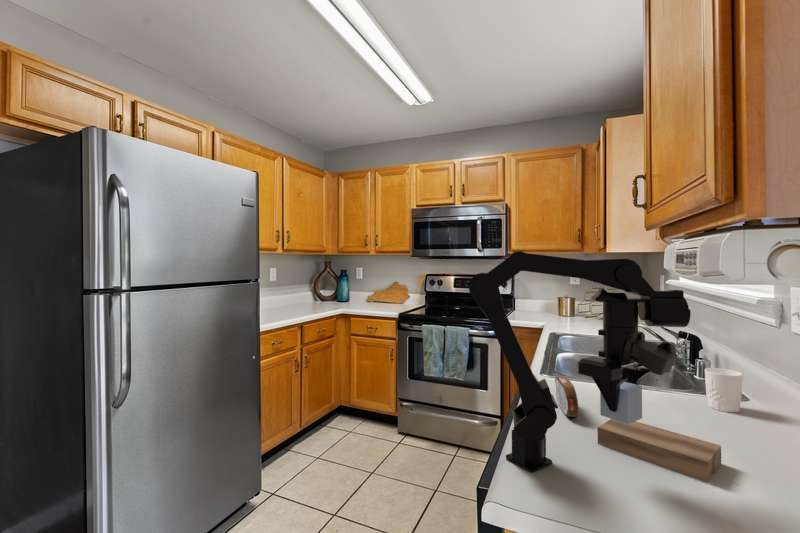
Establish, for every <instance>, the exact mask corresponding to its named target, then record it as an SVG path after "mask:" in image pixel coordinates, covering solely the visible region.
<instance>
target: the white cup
mask: <svg viewBox="0 0 800 533" xmlns="http://www.w3.org/2000/svg"><path fill="white" fill-rule="evenodd" d="M743 376H744V373H741V371H740V372H739V371H737V370H733V369H727V368H720V367H706V368H704V380H705V381H704V383H705V393H706V394H705V395H706V400H707V401H706V402H707V406H708V407H709V408H711V409H714V410H715V411H716V410H717V411H719V412H720V411H721V412H725V413H731V414H732V413H740V412H741V404H742V403H741V402H742V394H743V378H744V377H743Z"/></svg>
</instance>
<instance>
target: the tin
mask: <svg viewBox="0 0 800 533" xmlns="http://www.w3.org/2000/svg"><path fill="white" fill-rule="evenodd" d="M554 382H555V395H556V400H557V401H556V402H557V405H558V407H559V408H560V409H561V411H562V413H563V414H564V416H565V417H567V418H578V416H579V402H578V395H577V391H576V388H575V386H574V384H573V383H572V382H571V380H570V379H569V378H568V377H567V376H566V375H564V376H563V375H561V376H560V375H559V376H558V375H557V376H555V378H554Z"/></svg>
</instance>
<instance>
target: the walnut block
mask: <svg viewBox="0 0 800 533" xmlns="http://www.w3.org/2000/svg"><path fill="white" fill-rule="evenodd" d="M597 444H598V445H600V446H603V447H607V448H609V449H612V450H615V451H618V452H621V453H623V454H626V455H628V456H629V455H630V456H632V457H635V458H637V459H640V460H643V461H645V462H649V463H652V464H654V465H658V466H660V467H663V468H665V469H668V470H671V471H675V472H678V473H681V474H683V475H685V476H689V477H692V478H694V479H697V480H700V481H703V482H705V483H709V482H710V480H712V478H713V477H714V475H715V473H716V472H717V470H718V469H719V468H720V466H721V465H722V445H720V444H716V443H713V442H711V441H706V440H703V439H699V438H696V437H692V436H689V435H686V434H683V433H682V434H681V433H677V432H674V431H672V430H668V429H664V428H660V427H656V426H654V425H649V424H646V423H642V422H639V421H635V422H632V423H630V424H625V423H622V422H620V421H617V420H614V419H611V418H610V419H609V420H607V421H605V422H604V423H602V424H600V425H599V426H597Z"/></svg>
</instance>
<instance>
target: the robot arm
mask: <svg viewBox="0 0 800 533" xmlns="http://www.w3.org/2000/svg"><path fill="white" fill-rule="evenodd" d="M520 272H530V273H537V274H543V275H545V274H546V275H553V276H558V277H559V276H560V277H568V278H574V279H575V278H576V279H581V280H584V281H588V282H591V283H594V284H597V285H600V286H603V287H607V288H610V289H613V290H622V291H624V292H610V291H609V292H608V291H607V290H606V289H605V288H599V289H598V291H597V292H596V293H594V294H593V295H591V297H590V300H592V301H595V302H602V329H598V330H597V332H598V333H597V334H598V336H602V344H603V345H602V347H603V348H602V350H598V356H593V355H591V356H588V357H583V358H581V359H579V360H578V362H577V374H579V375H582V376H585V377H586V376H587V377H589V378H592V380H593V381H594V383H595V385H596V386H597V388H598V390H599V391H600V392H601V394H602V396H603V398H604V400H605V402H606V404H607V406H608V408H609V410H610V411H613V412H616V411H617V407H618V400H619V392H620V385H621V384H622V383H624V382H628V383H632V384H636V385H640V383H641V381H642V379H643V378H645V377H646V376H647V375H650V374H651V373H653V374H654V375H657V376H662V375H664V374H666V373H668V374H669V373H670V372H672V371H671V370H672V369H673V366H674V364H677V363H678V362H679V358H678V356H679V354H678V353H677V351H676V345H675V344H673V343H671V342H669V341H664V342H661V343H660V344H657V343H654V342H653V343H650V342H649V341H647V340H646V334H645V333H644V331H641V330H639V320H640V321H642V322H643V321H644V323H645V324H646V326H647V327H656V328H657V327H660V328H661V327H662V328H663V327H664V328H685V327H686V328H687V326H688V325H689V323H690V321H691V308H689V304H688V302H687V300H686V298H685V296H684V295H685V294H684V293H685V292H684V290H682V289H667V290H654V288H653V287H652V286H651V285H650V284H649V282H648V281H647V280H646V279H645V278H644V277H643V271H642V268H641V267H640V265H639V264H638V263H637V262H636V261H635V260H633V259H629V258H615V259H614V258H611V259H590V260H589V259H588V260H586V259H577V258H569V257H568V258H567V257H562V256H553V255H544V254H536V253H528V252H524V251H523V250H522V251H521V250H518V251H514V252H512V253H511V254H509V257H507V258H506V259H504V260H503V261H502V262H500V263H498V265H496V266H495V267H494V268H492V269H491V270H489V271H488V272H479V273H477V274H475V275H473V276H472V278H471V279H470V281H469V283H468V292H469V294H470V296H471V298H473V300H474V303H476V305H477V306H478V308H479V309H480V310H481V312H483V314H484V316H485V317H486V319H488V321H489V324H490V326H491V328H492V331H493V333H494V335H495V338H496V339H497V342H498V344H499V346H500V348H501V350H502V353H503V356H504V358H505V359H506V362H507V364H508V366H509V369H510V371H511V374H512V376H513V378H514V380H515V382H516V384H517V389H518V393H519V397H520V402H521V403H520V404H519V405H518V406H516V407H515V408H513V409H512V418H513V419H512V422H513V429H511V452H510V453H508V454H505V459H506V460H508V461H510V462H512V463H514V464H515V465H517V466H519V467H521V468H523V469H524V470H526V471H528V472H529V473H533V472H536V471H538V470H540V469H542V468H545V467H546V466H550V465H551V464H553V459H551V458H548V457H546V456H547V436H546V433H547V432H548V430H549V429H551V428H552V427H553V426H554V425H555V423H556V421H557V418H558V414H557V412H556V409H557V410H558V409H559V405H558V402H557V401H556V399H555V397H554V395H553V394H552V393H551V389H550V387H549V385H548V382H547V381H546V378H543V379H541V380H538V378H537V377H536V375H535V374H534V373H533V371H532V368H531V366H530V363H529V361H528V360H527V357H526V355H525V354H524V350H523V349H522V346H521V344H520V342H519V338H518V337H517V335H516V333H515V330H514V328H513V326H512V324H511V322H510V320H509V318H508V315H507V314H506V311H505V306H504V302H503V299H502V294H501V290H500V287H501V286H503V285H504V284H506V283H507V282H508V281H509V280H511V279H512V278H513V277H515V276H517V275H518V274H519V273H520ZM625 292H626V293H627V294H632V295H637V296H640V297H639V298H638V297H627V295H626V293H625ZM600 392H599V393H600Z"/></svg>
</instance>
